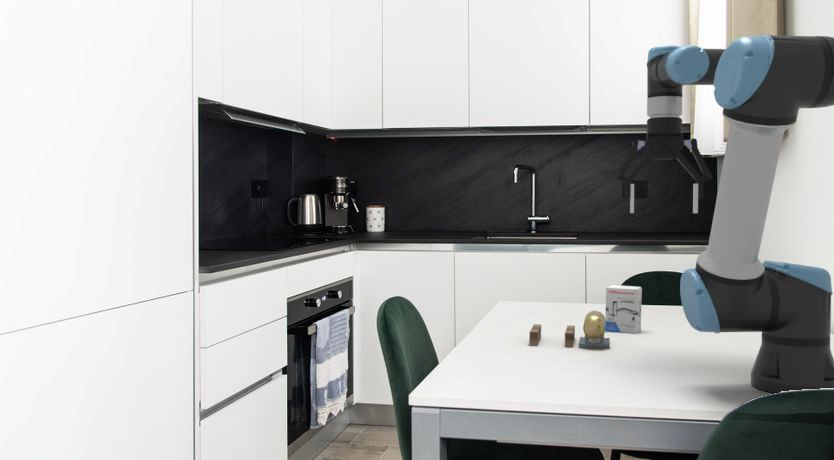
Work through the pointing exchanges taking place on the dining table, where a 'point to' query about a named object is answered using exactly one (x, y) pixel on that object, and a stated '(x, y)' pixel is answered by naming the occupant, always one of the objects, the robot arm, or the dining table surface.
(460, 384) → the dining table surface
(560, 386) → the dining table surface
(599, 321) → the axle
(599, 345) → the cradle
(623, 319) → the ink box
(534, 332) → the wooden rail pair
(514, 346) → the dining table surface
